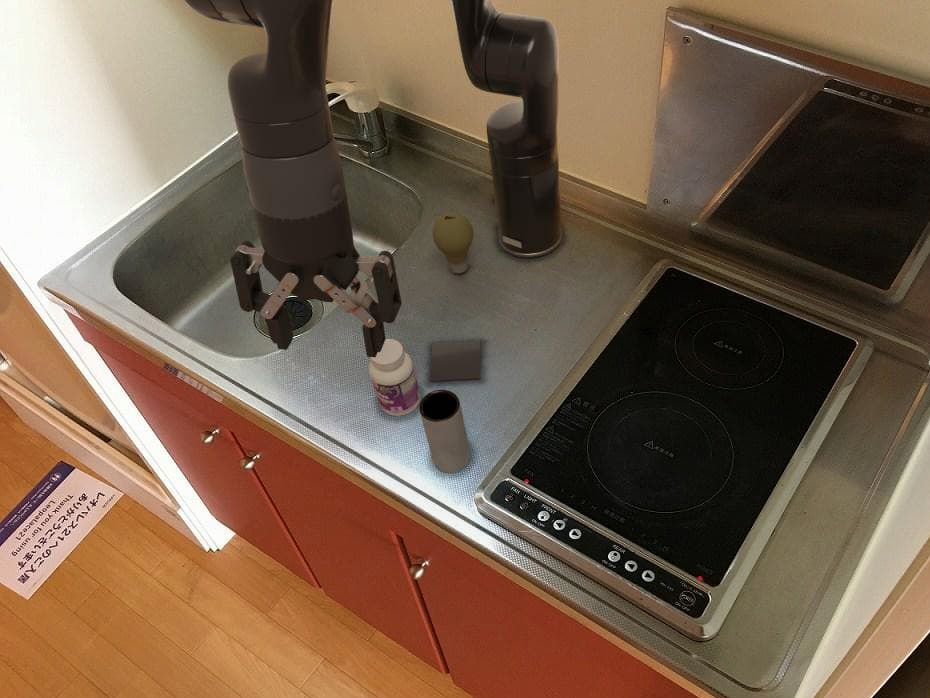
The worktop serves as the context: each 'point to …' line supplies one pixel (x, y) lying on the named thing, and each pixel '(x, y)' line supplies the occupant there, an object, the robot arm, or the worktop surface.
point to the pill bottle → (394, 379)
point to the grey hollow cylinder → (445, 430)
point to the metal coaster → (455, 361)
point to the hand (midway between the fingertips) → (329, 348)
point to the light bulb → (454, 239)
